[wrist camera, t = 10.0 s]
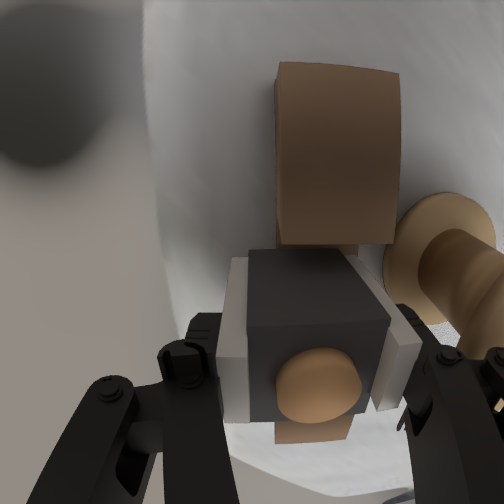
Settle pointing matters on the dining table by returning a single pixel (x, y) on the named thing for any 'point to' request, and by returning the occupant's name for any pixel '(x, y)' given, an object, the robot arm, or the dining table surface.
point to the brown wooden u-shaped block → (334, 174)
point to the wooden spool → (450, 271)
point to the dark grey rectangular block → (310, 335)
